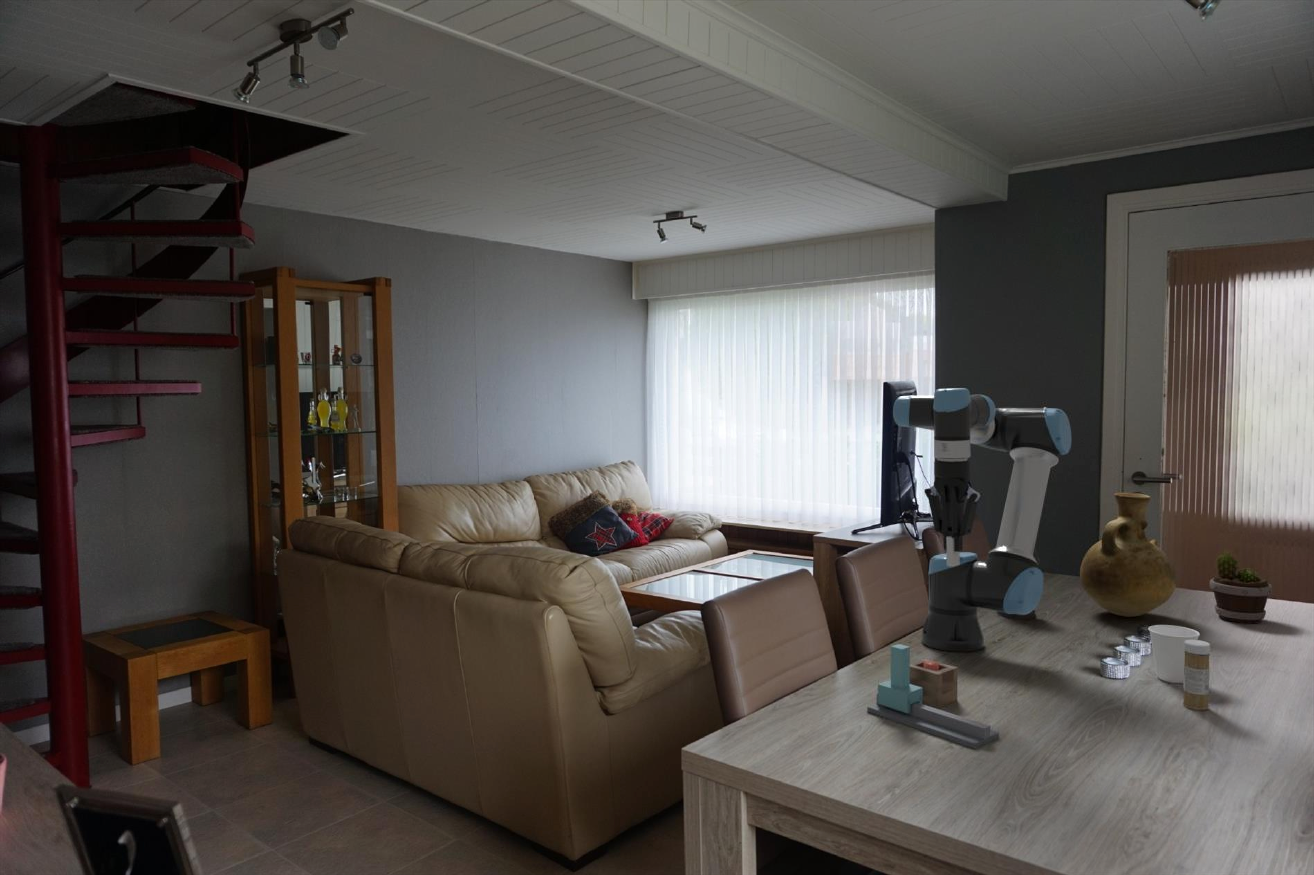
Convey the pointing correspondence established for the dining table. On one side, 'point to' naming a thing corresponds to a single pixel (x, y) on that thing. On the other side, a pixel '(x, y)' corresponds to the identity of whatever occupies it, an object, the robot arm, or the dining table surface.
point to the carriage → (899, 682)
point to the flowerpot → (1239, 591)
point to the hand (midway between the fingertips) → (953, 565)
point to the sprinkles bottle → (1196, 674)
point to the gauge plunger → (931, 665)
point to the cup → (1170, 650)
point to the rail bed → (931, 727)
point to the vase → (1127, 563)
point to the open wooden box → (935, 683)
